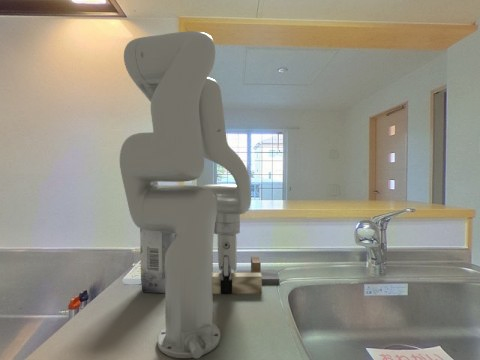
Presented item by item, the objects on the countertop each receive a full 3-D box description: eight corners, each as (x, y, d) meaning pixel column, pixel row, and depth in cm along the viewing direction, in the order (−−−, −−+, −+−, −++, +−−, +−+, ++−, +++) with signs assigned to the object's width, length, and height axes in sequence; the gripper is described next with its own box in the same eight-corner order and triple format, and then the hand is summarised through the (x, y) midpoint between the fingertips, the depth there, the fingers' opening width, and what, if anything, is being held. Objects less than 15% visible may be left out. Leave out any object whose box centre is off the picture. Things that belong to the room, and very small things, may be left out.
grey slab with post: (279, 283, 90) (279, 262, 90) (233, 284, 90) (233, 262, 89) (275, 274, 98) (275, 254, 98) (233, 274, 98) (233, 255, 97)
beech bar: (260, 289, 86) (260, 272, 86) (261, 293, 83) (261, 276, 83) (191, 289, 86) (191, 272, 86) (190, 294, 83) (190, 276, 83)
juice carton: (179, 280, 92) (179, 194, 91) (168, 295, 82) (167, 197, 81) (152, 279, 93) (151, 194, 92) (137, 293, 83) (136, 197, 82)
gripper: (240, 233, 76) (240, 304, 77) (239, 221, 92) (238, 280, 93) (211, 233, 76) (211, 304, 76) (215, 222, 92) (215, 280, 93)
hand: (226, 290), depth 85 cm, fingers closed on beech bar, 2 cm apart
